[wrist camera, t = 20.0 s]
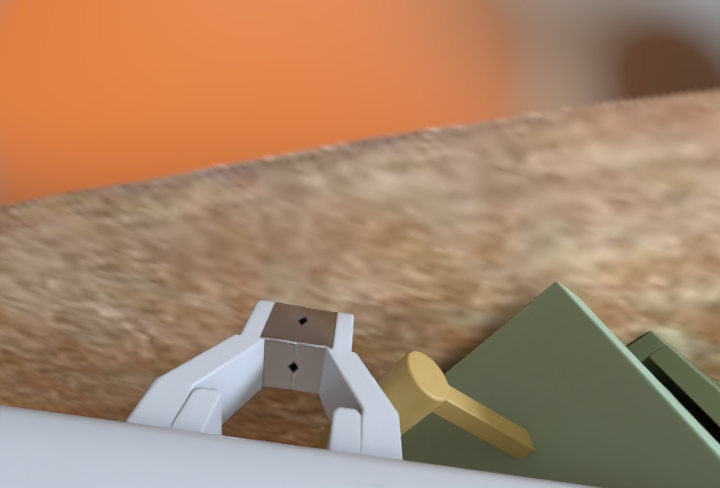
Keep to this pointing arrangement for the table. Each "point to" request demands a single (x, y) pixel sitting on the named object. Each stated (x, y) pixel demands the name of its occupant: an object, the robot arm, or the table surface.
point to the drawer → (552, 407)
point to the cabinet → (678, 375)
